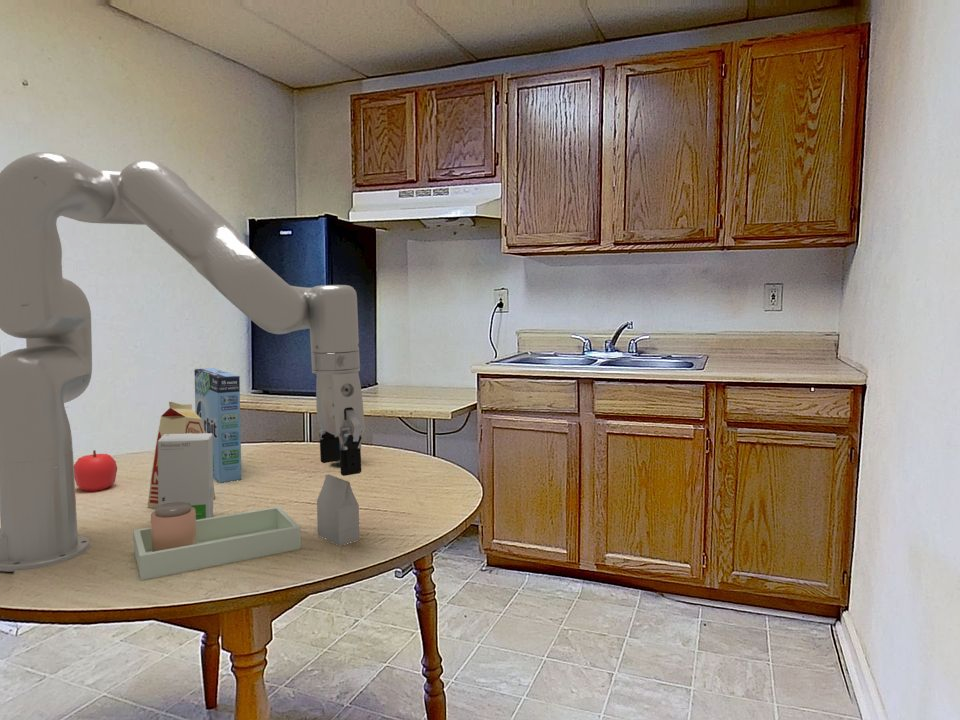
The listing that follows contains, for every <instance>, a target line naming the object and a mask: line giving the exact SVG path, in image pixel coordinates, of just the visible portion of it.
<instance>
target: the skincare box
mask: <svg viewBox="0 0 960 720" xmlns="http://www.w3.org/2000/svg"><path fill="white" fill-rule="evenodd" d="M213 482H214V478H213V434H212V433H201V434H192V433H187V434H164V435H163V436H162V437H161V438H160V439H159V440H158V506H160V505H163V504H166V503H172V502H187V503H190V504H191V507H194V508H195V510H196V520H199V519H205V518H211V517H214V499H213Z"/></svg>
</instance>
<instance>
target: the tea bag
mask: <svg viewBox="0 0 960 720" xmlns="http://www.w3.org/2000/svg"><path fill="white" fill-rule="evenodd" d="M324 476H325V477H324V481H323V484H322V487H321V489H320V492H319V495H318V498H317V500H316V510H317V511H316V512H317V514H316V515H317V520H316V521H317V536H318V535H319V536H318V537H320V536H321V537H320V538H322V537H323V538H322V539H324V538H326V539H327V540H326V539H325V540H326V541H328V540H330V541H331V542H333V543H335V544H337V545H339V546H340V547H342V546H341V545H343V546H345V545H344V544H347V543H350V542H353V543H355V542H354V541H357V540H359V541H360V505H359V502H358V500H357V499H356V497H355V494H354V493H353V489H352V486H351V482H350V481H347V480H345V479H342V478H341V477H340V478H339V477H337V476H333V475H331V474H329V473H328V474H325V475H324ZM331 542H330V543H331ZM357 542H358V541H357ZM333 543H332V544H333ZM335 544H334V545H335ZM350 544H351V543H350ZM337 545H336V546H337ZM347 545H348V544H347ZM339 546H338V547H339Z"/></svg>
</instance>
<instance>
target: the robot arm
mask: <svg viewBox="0 0 960 720" xmlns="http://www.w3.org/2000/svg"><path fill="white" fill-rule="evenodd" d="M60 217H64V218H68V219H71V220H75V221H78V222H82V223H89V224H106V225H107V224H109V225H110V224H111V225H112V224H113V225H139V226H141V225H142V226H144V225H145V226H146V227H148V228H149V229H150V230H151V231H152V232H154V233H155V234H156V235H157V236H158V237H160V238H161V240H163V241H164V242H165V243H166V244H168V245H169V246H170V247H171V248H172V249H173V250H174V251H175V252H176V253H177V254H179V255H180V257H182V258H183V259H184V260H186V262H188V264H190V265H191V266H192V267H193V268H194V269H195V270H196V271H197V273H199V275H201V276H202V277H203V278H204V279H205V280H206V281H208V282H209V283H210V284H211V286H213V288H215V289H216V290H217V291H218V292H219V293H220V294H221V295H222V296H223V297H225V299H226V300H228V301H229V302H230V303H231V304H232V305H233V306H234V307H236V308H237V309H238V310H239V311H240V312H241V313H243V315H245V316H246V317H247V318H248V319H249V320H251V321H252V322H253V323H254V324H255V325H256V326H258V327H259V329H260V328H261V329H262V330H264V331H265V332H267V333H271V334H273V335H284V334H285V335H286V334H290V333H292V332H296V331H302V330H307V329H309V334H310V335H309V340H310V358H311V359H310V360H311V361H310V362H311V373H312V374H315V375H316V383H315V384H316V387H315V388H316V389H315V392H316V393H315V394H316V395H315V398H316V400H315V401H316V405H315V406H316V417H317V418H316V420H317V425H318V427H319V432H318V435H319V450H320V451H319V453H320V462H321V463H322V464H326V463H333V462H336V461H339V460H340V463H339V464H340V466H339V468H340V475H341V476H343V477H345V476H352V475H356V474H361V472H362V455H361V454H362V451H361V448H362V442H361V441H362V434H363V433H364V431H365V426H366V425H365V413H364V402H363V392H362V385H361V380H360V375H359V372H360V371H361V361H360V338H359V317H358V314H359V312H358V296H357V295H358V294H357V291H356V289H354V288H355V287H353V286H351V285H347V284H325V285H324V284H323V285H322V284H321V285H316V286H313V287H307V286H306V287H304V286H295V285H290V284H289V283H287V282H286V281H285V280H284V279H283V278H282V277H281V276H279V275H278V274H277V273H276V272H275V271H274V269H273V270H272V269H271V267H270V266H268V265H267V264H266V263H265V262H264V261H263V260H262V259H260V257H258V255H256V254H255V252H254V251H252V249H250V247H248V245H247V244H246V243H245V242H244V240H243V239H242V238H241V235H240V234H239V233H238V231H237V229H236V228H235V227H234V226H233V225H232V224H231V223H230V221H228V220H226V219H225V218H224V217H223V216H222V215H221V214H220V213H218V211H216V210H215V209H214V208H213V207H212V206H211V205H209V204H208V203H207V202H206V201H205V200H204V199H203V198H202V197H201V196H199V194H197V193H196V192H195V191H194V190H193V189H191V188H190V186H189V185H188V184H187V182H186V181H185V179H183V178H182V177H181V176H180V175H179V174H177V173H176V172H174V171H173V170H171V169H170V168H168V167H167V166H165V165H164V164H162V163H160V162H157V161H154V160H148V159H141V160H136V161H133V162H130V163H129V164H127V165H126V166H125V167H124V168H123V169H122V170H109V169H108V170H106V169H95V168H93V167H91V166H89V165H87V164H86V163H84V162H82V161H80V160H77V159H76V158H73V157H71V156H69V155H65V154H63V153H62V154H61V153H58V152H51V151H50V152H49V151H45V152H44V151H42V152H34V153H33V152H32V153H29V154H26V155H23V156H20V157H18V158H16V159H15V160H13V161H11V162H10V163H8V164H7V165H6V166H5V167H4V168H3V169H2V170H1V171H0V330H1V331H2V332H3V333H5V334H7V335H9V336H11V337H14V338H16V339H17V338H18V339H25V340H26V341H25V342H26V343H25V344H26V347H25V348H19V349H16V350H11V351H9V352H7V353H5V354H3V355H1V356H0V572H7V573H15V571H16V570H17V571H18V570H28V569H29V570H30V569H36V568H37V569H38V568H42V567H43V568H44V567H48V566H52V565H56V564H60V563H63V562H66V561H69V560H71V559H74V558H77V557H78V556H80V555H82V554H84V553H85V552H86V551H88V550H89V548H90V547H91V541H90V539H89V538H88V537H86V536H84V535H79V534H78V517H77V515H78V514H77V499H76V498H77V496H76V481H75V478H74V465H75V460H74V448H73V436H72V430H71V424H70V422H69V418H68V414H67V411H66V407H65V404H66V403H69V402H71V401H73V400H75V399H77V398H79V397H80V396H81V395H83V394H84V393H85V392H86V390H87V388H88V387H89V386H90V382H91V379H92V373H93V372H92V371H93V344H92V343H93V342H92V341H93V340H92V335H93V334H92V311H91V307H90V306H91V305H90V303H89V300H88V298H87V295H86V294H85V293H84V291H83V289H82V288H80V286H79V285H77V284H76V283H74V282H73V281H71V280H69V279H67V278H64V277H63V265H62V263H63V260H62V258H63V257H62V256H63V250H62V249H63V248H62V243H61V239H60V235H59V231H58V226H57V225H58V224H57V220H58V218H60ZM336 436H338V437H336ZM345 437H348V438H347V441H346V439H345ZM339 440H340V444H341V447H342V450H340V446H339Z"/></svg>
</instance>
